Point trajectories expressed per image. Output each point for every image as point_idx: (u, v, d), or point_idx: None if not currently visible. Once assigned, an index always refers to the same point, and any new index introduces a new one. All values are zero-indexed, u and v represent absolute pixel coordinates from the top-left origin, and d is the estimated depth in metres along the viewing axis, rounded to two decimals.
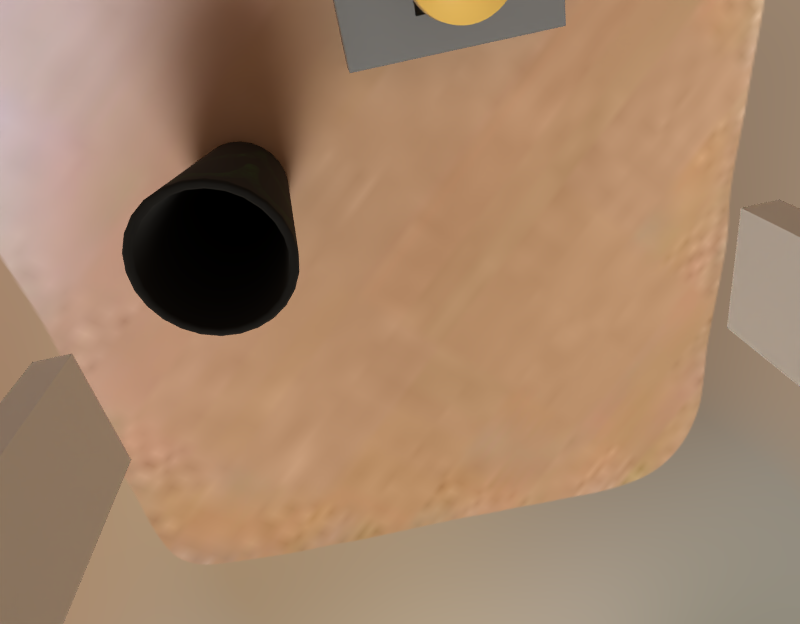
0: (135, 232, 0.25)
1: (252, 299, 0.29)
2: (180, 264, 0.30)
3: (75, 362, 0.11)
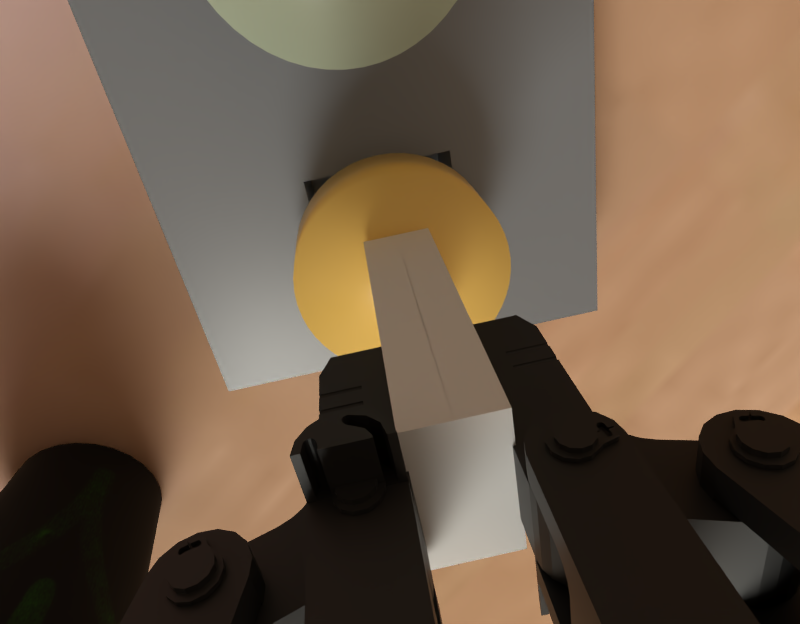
0: None
1: None
2: None
3: None
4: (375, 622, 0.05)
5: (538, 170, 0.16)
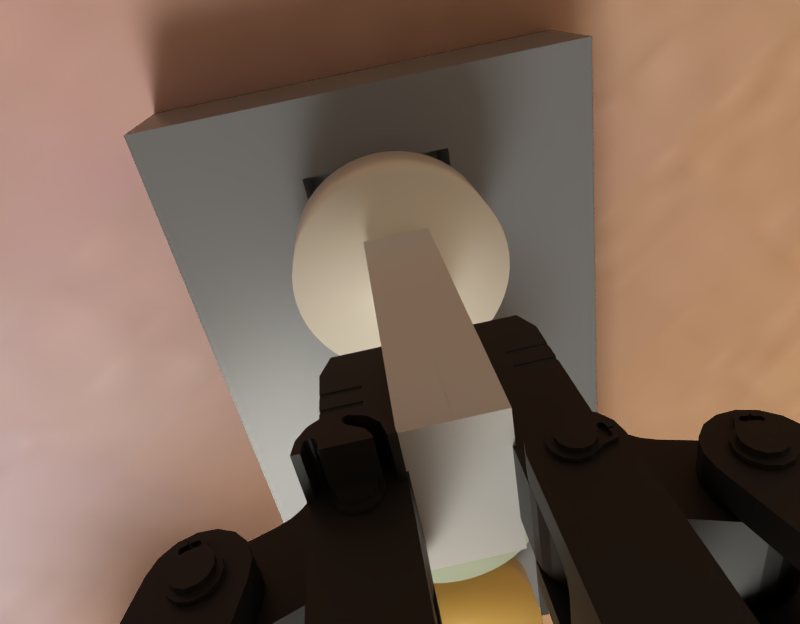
0: None
1: None
2: None
3: None
4: (375, 622, 0.05)
5: None
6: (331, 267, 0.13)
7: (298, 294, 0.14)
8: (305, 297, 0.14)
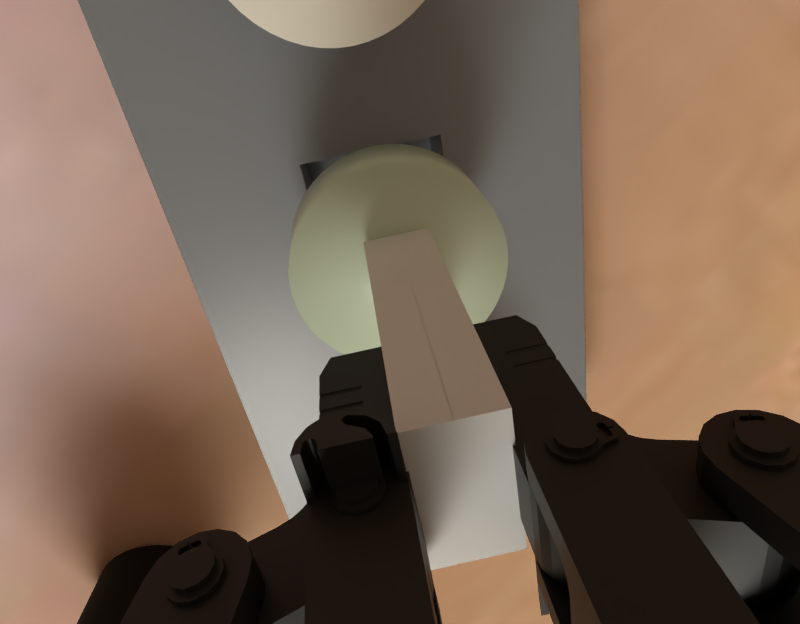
0: None
1: None
2: None
3: None
4: (375, 622, 0.05)
5: None
6: None
7: None
8: None
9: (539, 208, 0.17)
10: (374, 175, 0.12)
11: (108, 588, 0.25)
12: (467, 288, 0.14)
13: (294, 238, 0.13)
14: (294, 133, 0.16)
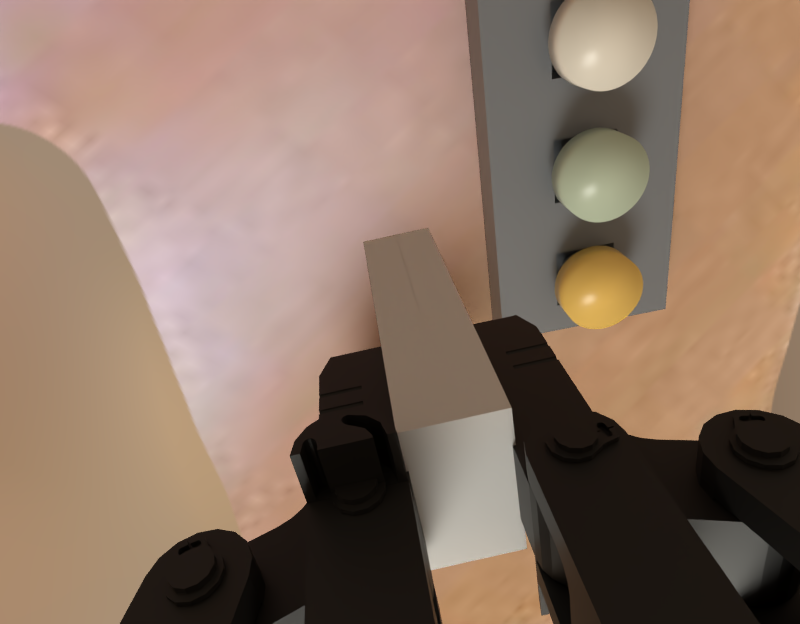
0: None
1: None
2: None
3: None
4: (375, 621, 0.05)
5: (647, 250, 0.39)
6: (579, 28, 0.29)
7: (561, 42, 0.30)
8: (564, 44, 0.30)
9: (656, 166, 0.37)
10: (604, 137, 0.32)
11: None
12: (630, 188, 0.34)
13: (569, 162, 0.33)
14: (554, 125, 0.35)
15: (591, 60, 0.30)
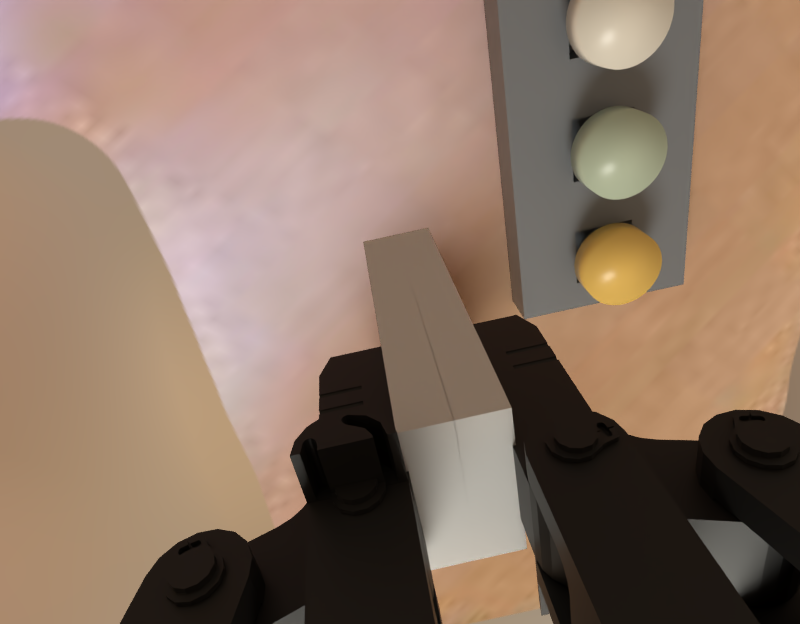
0: None
1: None
2: None
3: None
4: (375, 622, 0.05)
5: (665, 226, 0.40)
6: (597, 7, 0.30)
7: (580, 22, 0.30)
8: (583, 23, 0.30)
9: (673, 142, 0.37)
10: (623, 115, 0.33)
11: None
12: (649, 164, 0.34)
13: (588, 140, 0.33)
14: (572, 105, 0.35)
15: (609, 39, 0.31)
